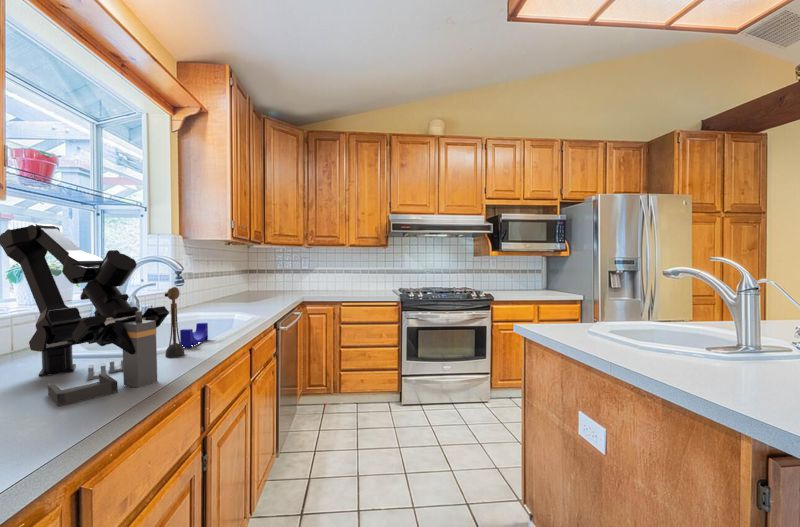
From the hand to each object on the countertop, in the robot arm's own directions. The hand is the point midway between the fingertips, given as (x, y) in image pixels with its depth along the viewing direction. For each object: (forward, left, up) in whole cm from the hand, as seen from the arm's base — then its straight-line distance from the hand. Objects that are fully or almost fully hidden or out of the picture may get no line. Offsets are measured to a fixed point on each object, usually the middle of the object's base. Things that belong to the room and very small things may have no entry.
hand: (144, 350), depth 85 cm
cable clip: (-36, +15, -8) cm, 40 cm away
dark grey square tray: (-1, -11, -8) cm, 13 cm away
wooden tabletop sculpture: (-23, +8, -8) cm, 26 cm away
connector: (-1, -1, -8) cm, 8 cm away
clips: (-15, -5, -8) cm, 18 cm away
